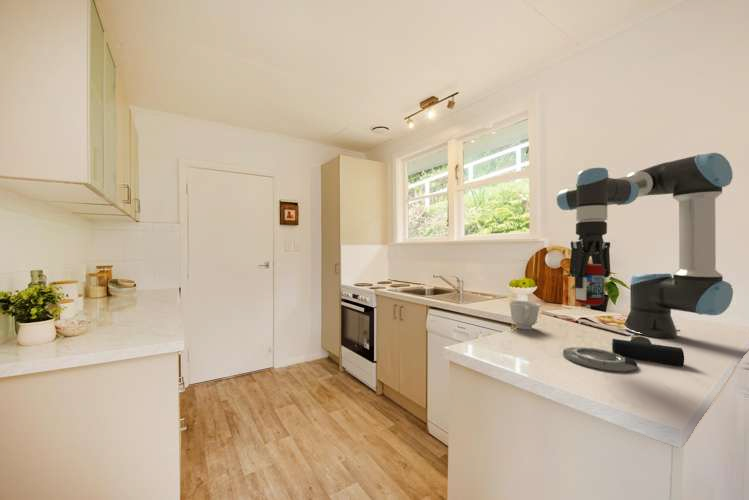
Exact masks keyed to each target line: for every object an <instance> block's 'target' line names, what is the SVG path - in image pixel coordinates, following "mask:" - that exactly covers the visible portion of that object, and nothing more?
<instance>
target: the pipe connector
mask: <svg viewBox="0 0 749 500" xmlns="http://www.w3.org/2000/svg"><path fill="white" fill-rule="evenodd" d="M611 349H612V351H611V352H613V353H617V354H619V355H622V356H625V357H628V358H630V359H632V360H633V359H634V360H640V361H646V362H651V363H657V364H658V363H659V364H664V365H672V366H676V367H683V366H684V364H685V353H684V349H683V348H682V347H678V346H669V345H668V346H667V345H662V344H654V343H652V341H651V340H650V339H649V338H648V337H646V336H645V337H644V336H642V335H640V336H639V335H637V336H633V335H632V336H631V338H630V340H624V339H616V338H612V343H611Z"/></svg>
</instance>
